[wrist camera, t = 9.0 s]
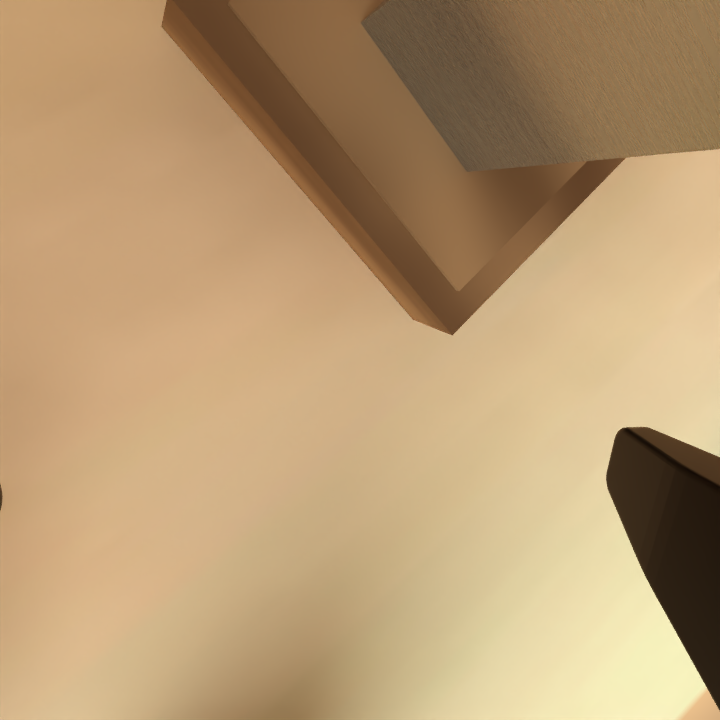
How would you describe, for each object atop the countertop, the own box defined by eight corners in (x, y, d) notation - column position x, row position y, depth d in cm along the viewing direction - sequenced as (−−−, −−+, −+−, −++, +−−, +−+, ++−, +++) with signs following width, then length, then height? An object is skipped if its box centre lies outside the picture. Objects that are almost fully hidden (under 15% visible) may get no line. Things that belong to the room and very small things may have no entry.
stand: (412, 319, 23) (455, 336, 20) (161, 26, 18) (168, -8, 15) (635, 94, 24) (706, 79, 21) (452, -240, 19) (511, -320, 16)
